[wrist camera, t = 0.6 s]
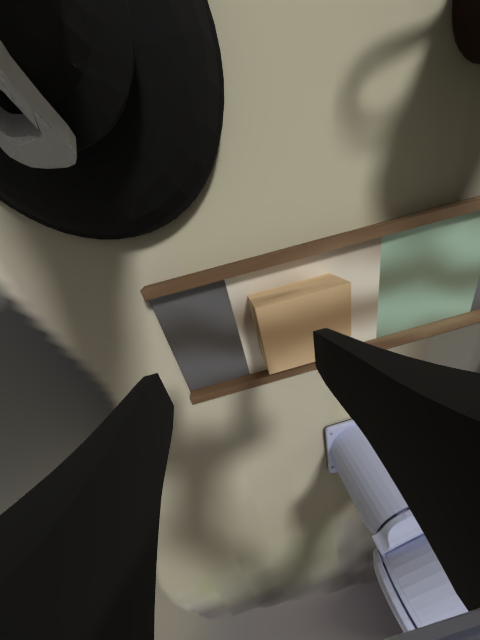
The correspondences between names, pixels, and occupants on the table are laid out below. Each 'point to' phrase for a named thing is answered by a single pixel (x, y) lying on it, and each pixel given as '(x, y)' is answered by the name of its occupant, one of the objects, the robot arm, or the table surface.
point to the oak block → (299, 318)
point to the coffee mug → (467, 28)
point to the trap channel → (314, 260)
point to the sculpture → (107, 111)
